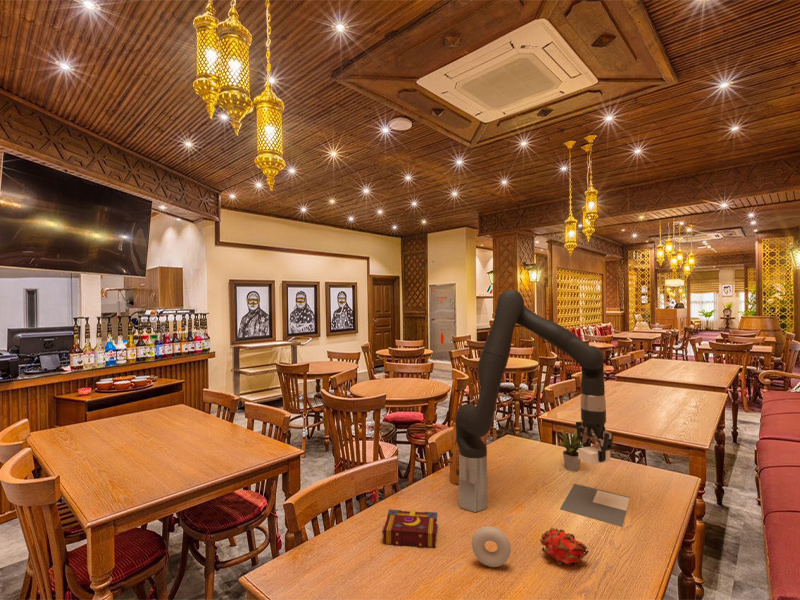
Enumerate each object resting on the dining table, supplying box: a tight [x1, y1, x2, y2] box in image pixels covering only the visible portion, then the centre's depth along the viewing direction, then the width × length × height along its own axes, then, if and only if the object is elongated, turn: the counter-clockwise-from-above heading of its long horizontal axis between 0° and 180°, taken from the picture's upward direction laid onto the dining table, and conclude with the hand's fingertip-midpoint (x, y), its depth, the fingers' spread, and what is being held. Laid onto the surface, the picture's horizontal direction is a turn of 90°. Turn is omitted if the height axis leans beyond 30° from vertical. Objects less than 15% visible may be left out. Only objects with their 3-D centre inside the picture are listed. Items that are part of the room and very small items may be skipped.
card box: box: [577, 443, 611, 466], centre depth 133 cm, size 8×6×4 cm
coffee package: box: [449, 421, 482, 485], centre depth 154 cm, size 10×12×22 cm
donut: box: [471, 525, 512, 568], centre depth 105 cm, size 10×4×10 cm, turn 75°
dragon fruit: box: [540, 527, 589, 567], centre depth 106 cm, size 8×8×12 cm
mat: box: [559, 483, 631, 528], centre depth 135 cm, size 22×18×1 cm
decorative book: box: [382, 508, 438, 549], centre depth 118 cm, size 11×16×5 cm
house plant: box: [556, 428, 583, 472], centre depth 162 cm, size 14×14×16 cm
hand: (594, 457), depth 133 cm, fingers closed on card box, 5 cm apart
